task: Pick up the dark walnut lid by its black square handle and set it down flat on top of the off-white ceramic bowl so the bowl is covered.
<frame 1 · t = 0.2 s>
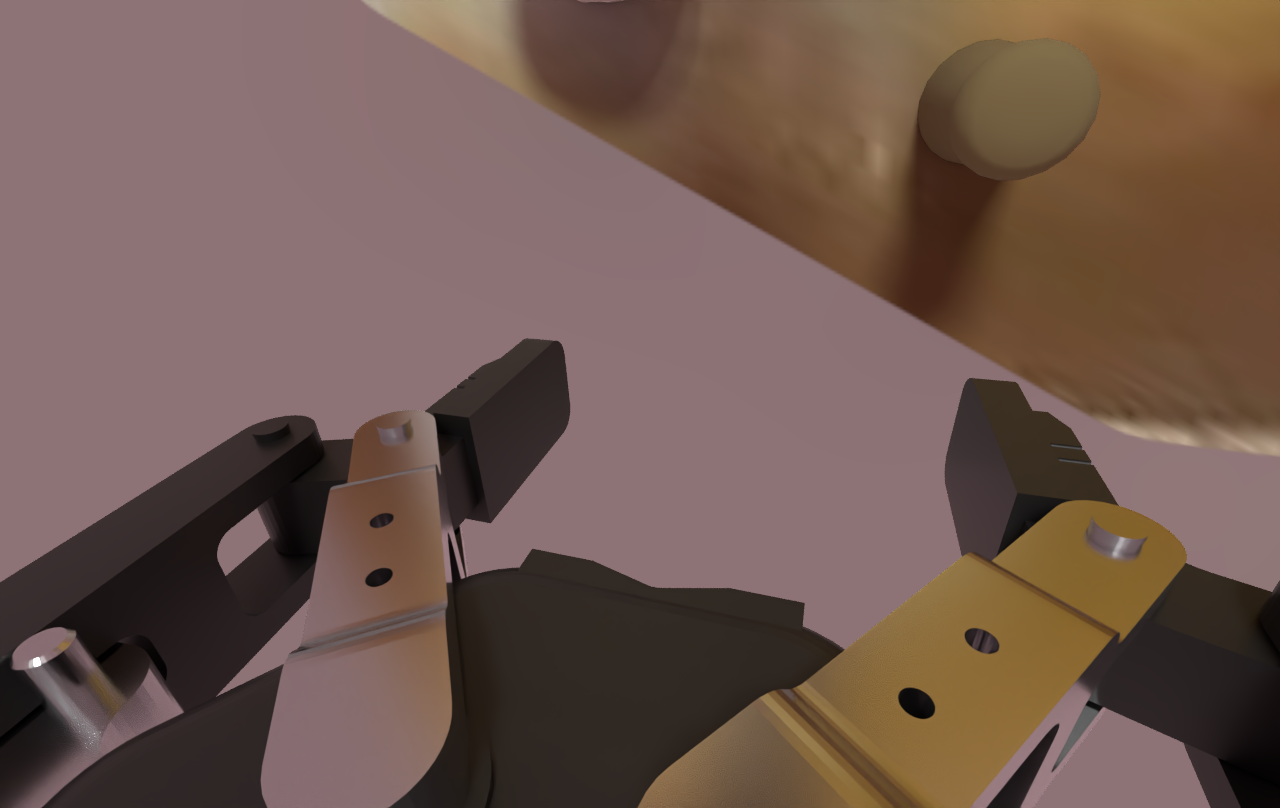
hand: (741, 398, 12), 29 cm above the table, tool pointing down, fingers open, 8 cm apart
cork: (978, 104, 32), on the table
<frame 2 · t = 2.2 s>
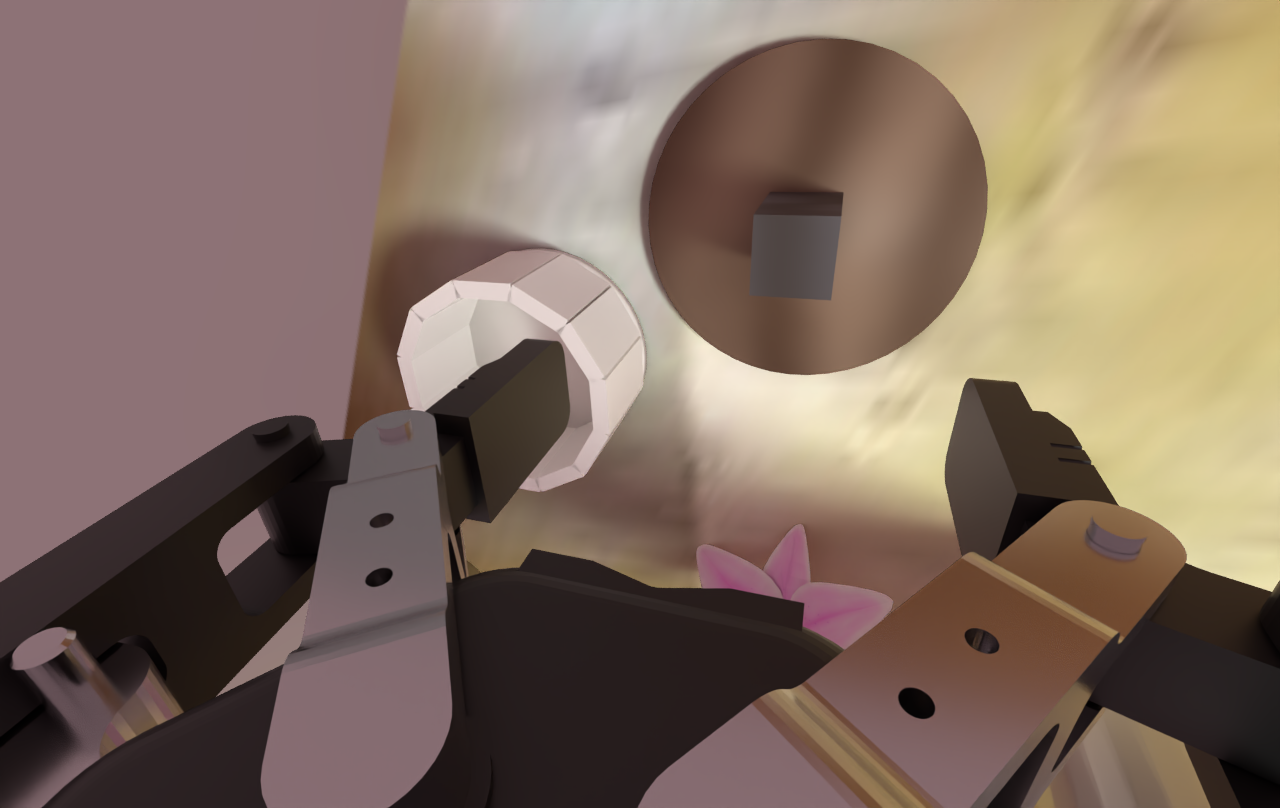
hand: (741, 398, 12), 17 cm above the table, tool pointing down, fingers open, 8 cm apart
ceramic bowl: (553, 346, 33), on the table
walnut lid: (804, 223, 26), on the table
lily: (783, 573, 36), on the table
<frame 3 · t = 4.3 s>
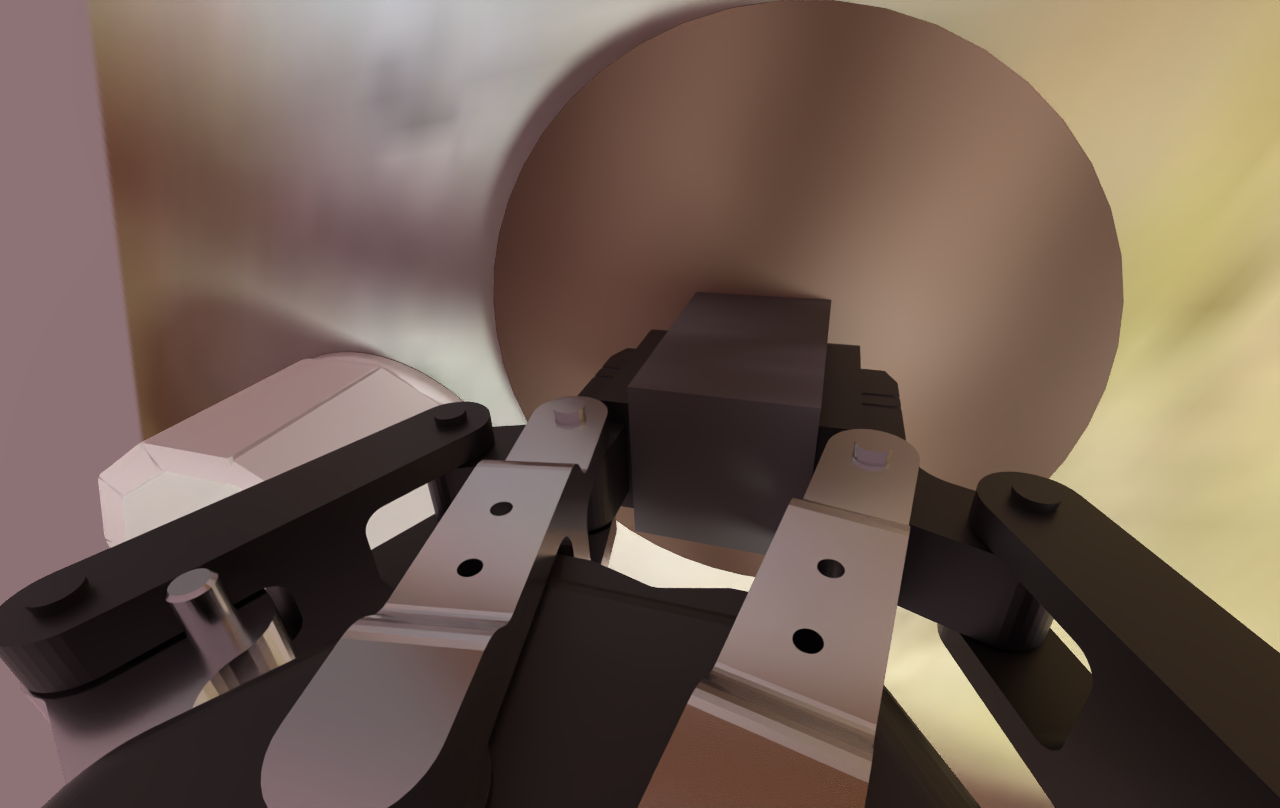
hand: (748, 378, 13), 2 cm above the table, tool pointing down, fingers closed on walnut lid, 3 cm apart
ceramic bowl: (399, 489, 22), on the table
walnut lid: (763, 341, 15), on the table, touching gripper
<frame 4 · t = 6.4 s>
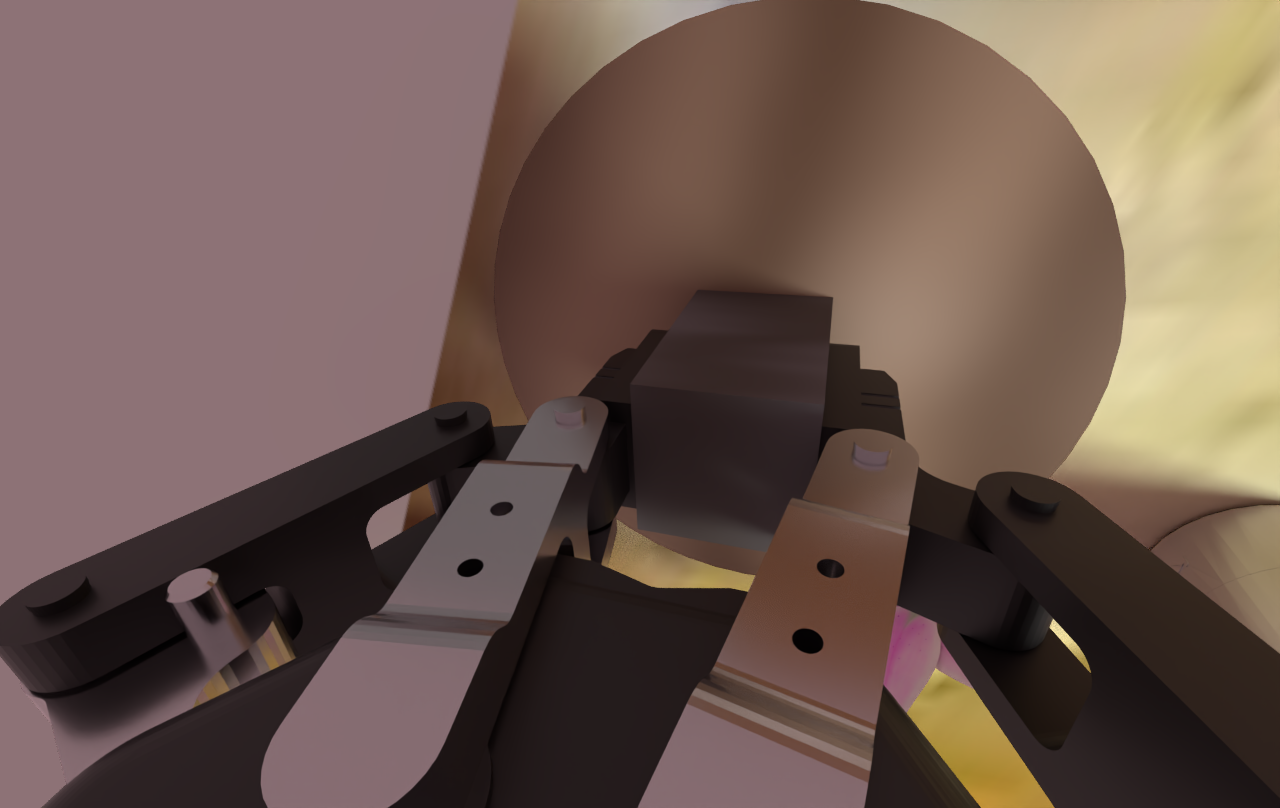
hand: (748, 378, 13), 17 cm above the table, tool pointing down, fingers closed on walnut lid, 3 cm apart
walnut lid: (764, 339, 15), point 15 cm above the table, touching gripper
lily: (902, 535, 34), on the table
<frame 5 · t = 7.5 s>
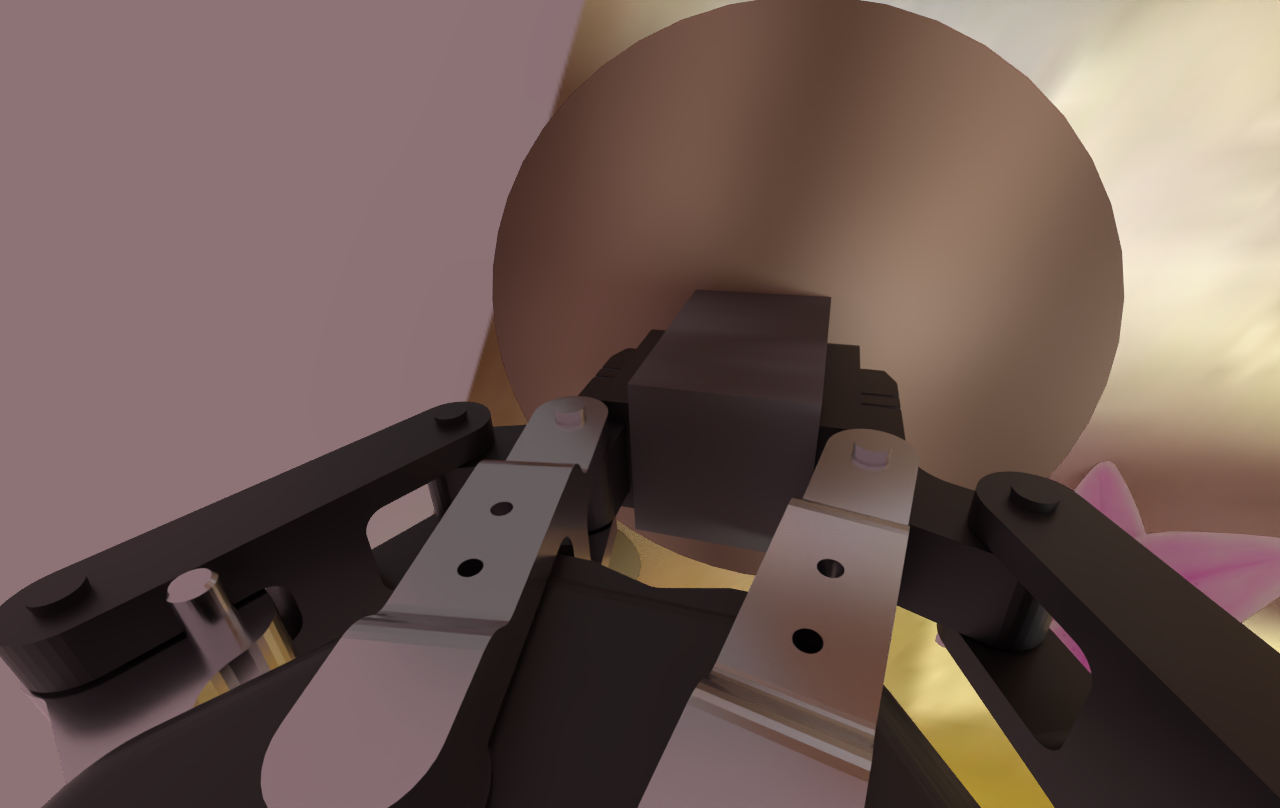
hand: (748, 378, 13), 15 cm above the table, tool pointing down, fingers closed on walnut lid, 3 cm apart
cork: (597, 553, 38), on the table
walnut lid: (763, 338, 15), point 12 cm above the table, touching gripper
lily: (1060, 530, 28), on the table
when the fingers open (10 cm above the table, at t = 8.6 s): walnut lid drops 1 cm, resting on ceramic bowl.
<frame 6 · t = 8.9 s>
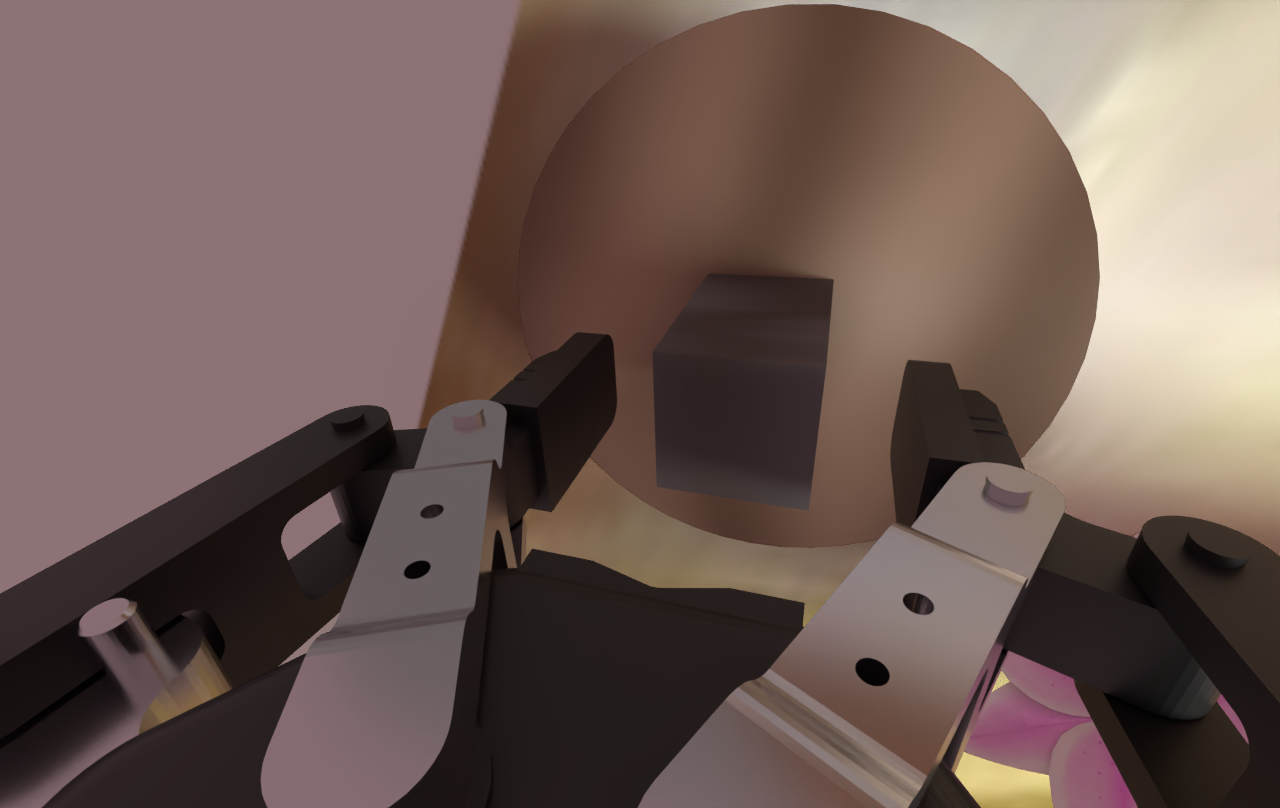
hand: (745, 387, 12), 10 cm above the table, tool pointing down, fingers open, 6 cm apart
walnut lid: (770, 320, 16), point 6 cm above the table, touching ceramic bowl
lily: (1090, 605, 24), on the table
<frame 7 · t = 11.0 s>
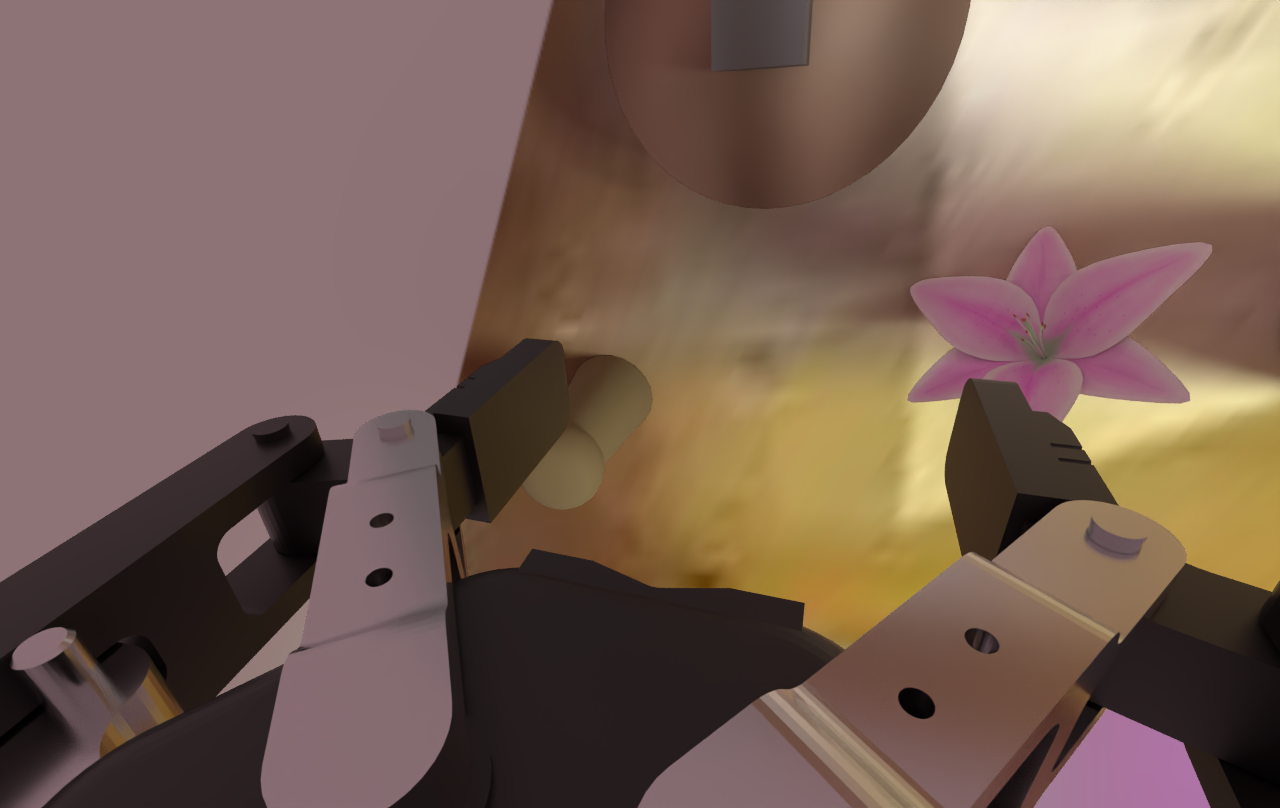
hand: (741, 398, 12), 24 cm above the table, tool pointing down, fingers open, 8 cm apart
cork: (612, 392, 42), on the table
walnut lid: (774, 26, 24), point 6 cm above the table, touching ceramic bowl
lily: (1013, 305, 32), on the table
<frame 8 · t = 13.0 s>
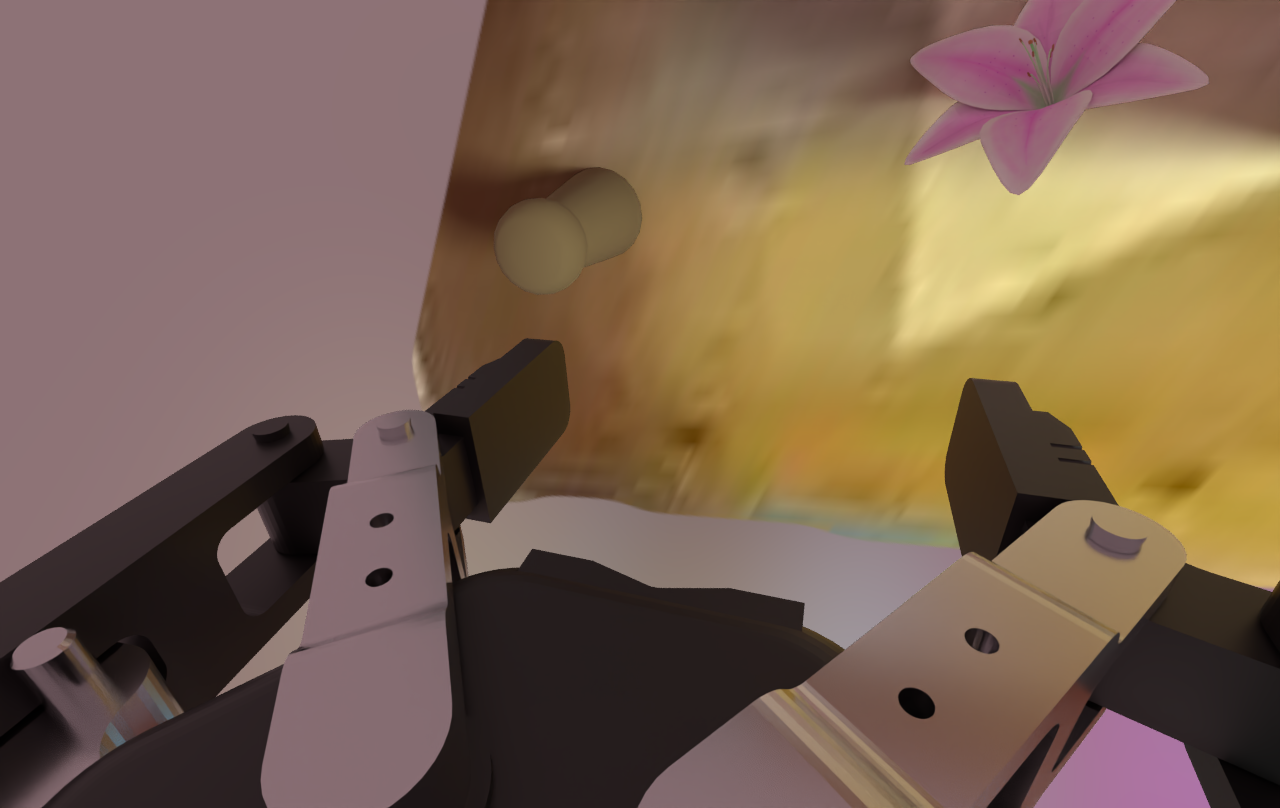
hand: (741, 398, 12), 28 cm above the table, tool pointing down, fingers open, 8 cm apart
cork: (601, 213, 40), on the table
lily: (1019, 72, 30), on the table
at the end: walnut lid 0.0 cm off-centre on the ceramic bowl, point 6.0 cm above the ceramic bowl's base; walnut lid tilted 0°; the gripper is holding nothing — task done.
